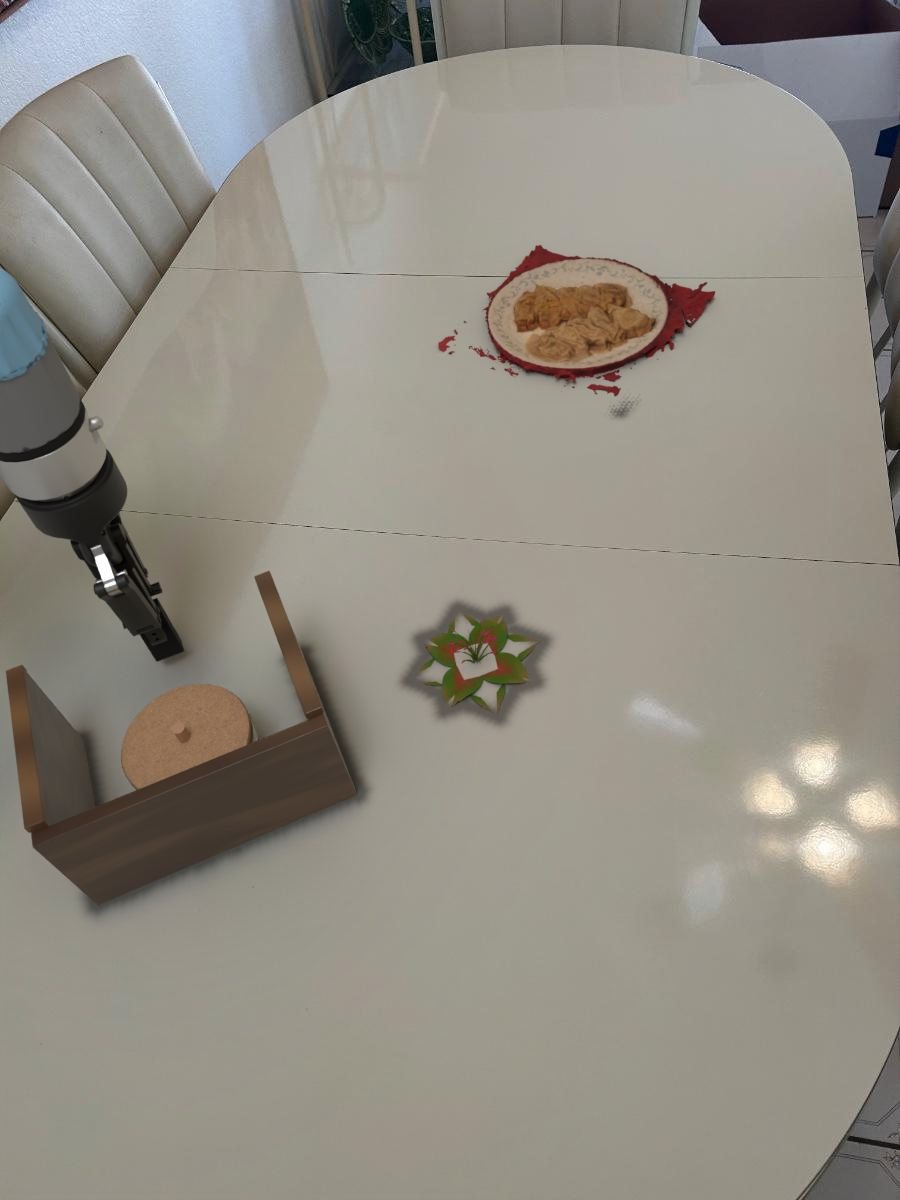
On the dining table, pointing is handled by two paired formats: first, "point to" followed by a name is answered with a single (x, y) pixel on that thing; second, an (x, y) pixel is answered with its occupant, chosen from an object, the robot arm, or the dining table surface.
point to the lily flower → (480, 634)
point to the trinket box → (184, 732)
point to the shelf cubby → (170, 787)
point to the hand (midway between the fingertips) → (169, 650)
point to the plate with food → (584, 316)
